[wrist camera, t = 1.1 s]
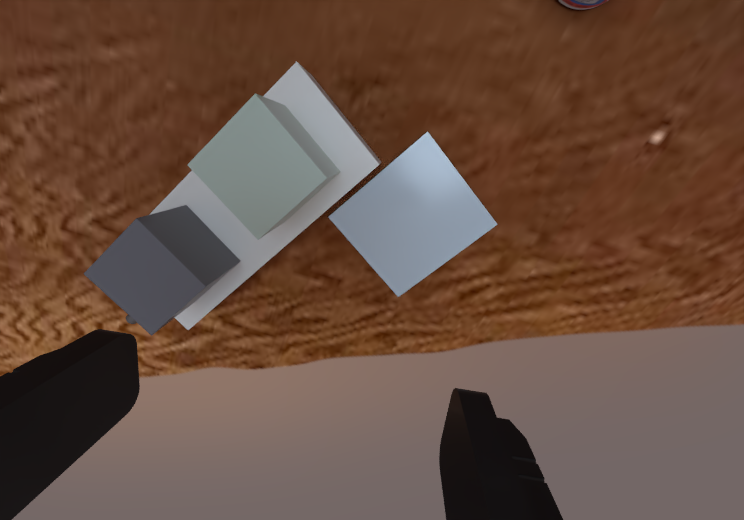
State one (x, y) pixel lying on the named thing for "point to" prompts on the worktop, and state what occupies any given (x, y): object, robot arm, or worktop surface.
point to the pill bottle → (582, 3)
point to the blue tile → (413, 216)
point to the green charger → (263, 165)
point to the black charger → (161, 266)
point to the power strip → (354, 165)
